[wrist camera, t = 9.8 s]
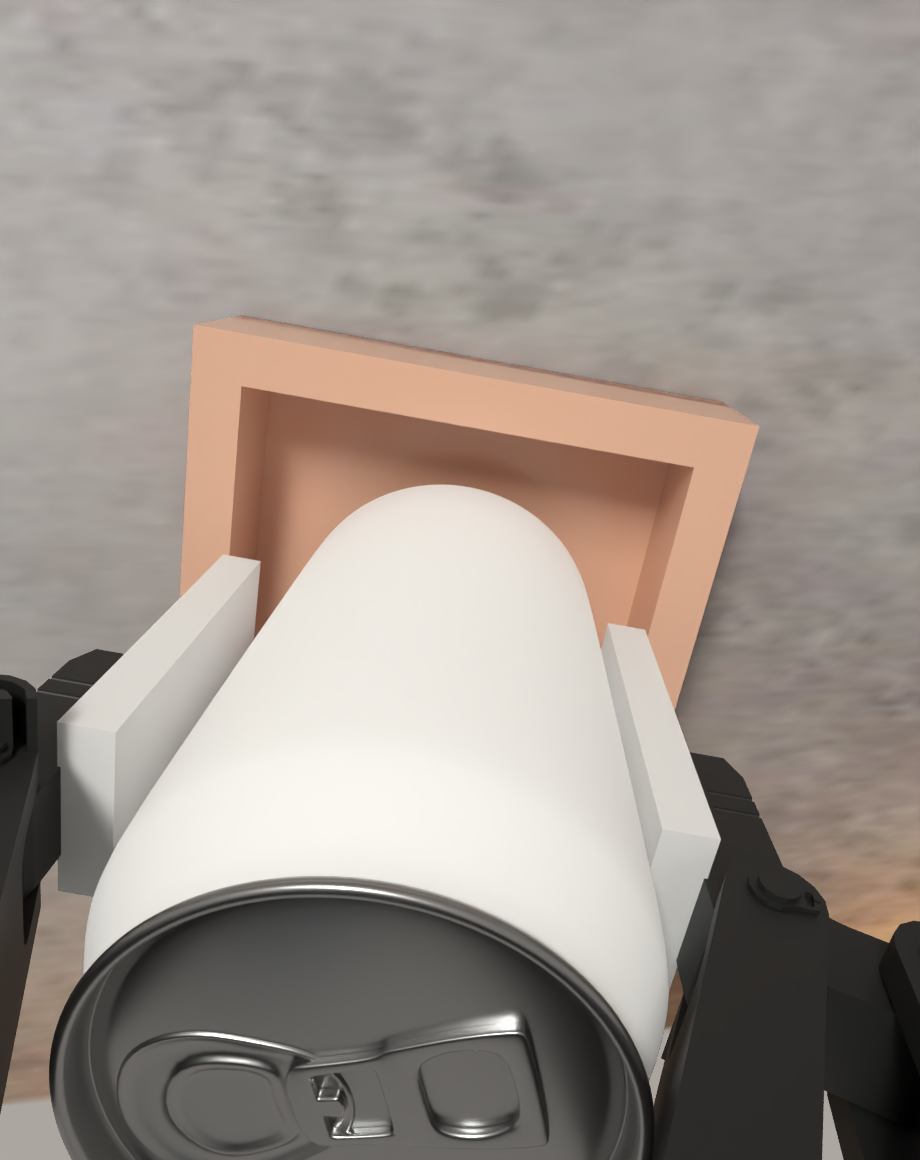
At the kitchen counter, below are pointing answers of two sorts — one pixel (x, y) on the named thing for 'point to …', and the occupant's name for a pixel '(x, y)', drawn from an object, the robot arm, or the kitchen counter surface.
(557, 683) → the can
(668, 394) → the tray
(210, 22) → the kitchen counter surface
